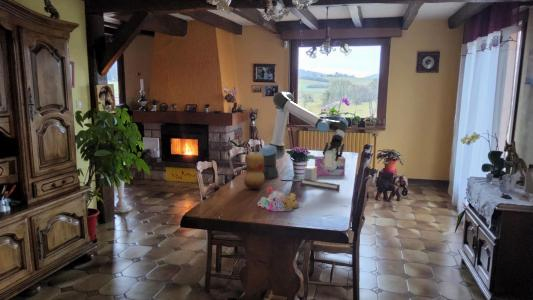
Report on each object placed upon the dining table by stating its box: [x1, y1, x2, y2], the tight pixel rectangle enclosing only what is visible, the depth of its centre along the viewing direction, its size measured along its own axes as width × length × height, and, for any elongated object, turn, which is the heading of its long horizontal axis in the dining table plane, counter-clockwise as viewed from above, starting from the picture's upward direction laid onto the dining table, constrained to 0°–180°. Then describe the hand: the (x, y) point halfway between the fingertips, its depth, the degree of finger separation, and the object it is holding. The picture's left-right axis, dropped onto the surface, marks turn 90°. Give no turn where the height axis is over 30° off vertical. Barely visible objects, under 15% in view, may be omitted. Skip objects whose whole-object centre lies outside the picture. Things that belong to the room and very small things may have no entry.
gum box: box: [314, 155, 346, 176], centre depth 297 cm, size 24×8×14 cm, turn 95°
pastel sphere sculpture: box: [257, 186, 300, 212], centre depth 218 cm, size 25×24×9 cm
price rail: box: [300, 178, 341, 192], centre depth 257 cm, size 28×2×4 cm, turn 58°
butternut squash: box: [243, 151, 265, 190], centre depth 250 cm, size 14×13×25 cm
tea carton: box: [324, 150, 337, 170], centre depth 260 cm, size 8×6×12 cm
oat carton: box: [303, 165, 318, 181], centre depth 267 cm, size 8×6×12 cm
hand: (328, 163), depth 257 cm, fingers closed on tea carton, 6 cm apart
